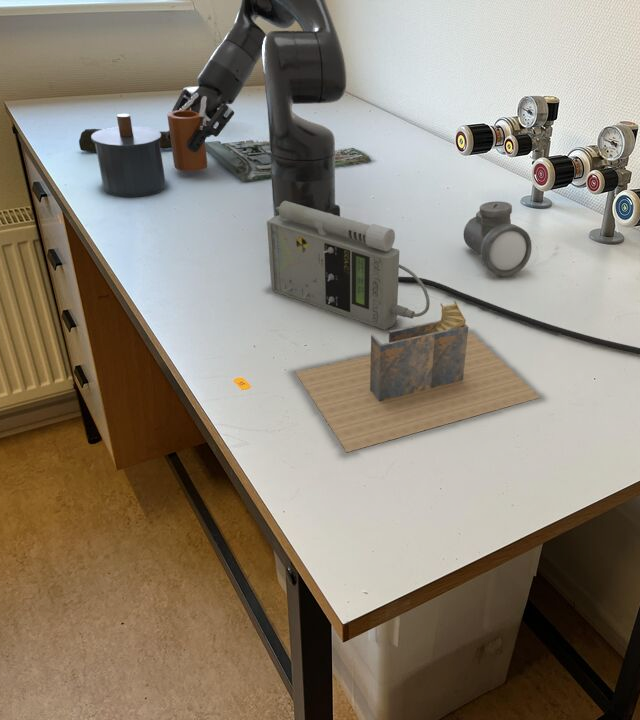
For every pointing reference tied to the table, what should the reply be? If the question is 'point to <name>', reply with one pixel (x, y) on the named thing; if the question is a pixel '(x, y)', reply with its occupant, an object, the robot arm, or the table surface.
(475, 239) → the pipe fitting
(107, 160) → the tin
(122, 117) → the tin lid
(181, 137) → the jar
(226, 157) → the model
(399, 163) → the table surface
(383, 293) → the geiger counter
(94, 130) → the hand tool
